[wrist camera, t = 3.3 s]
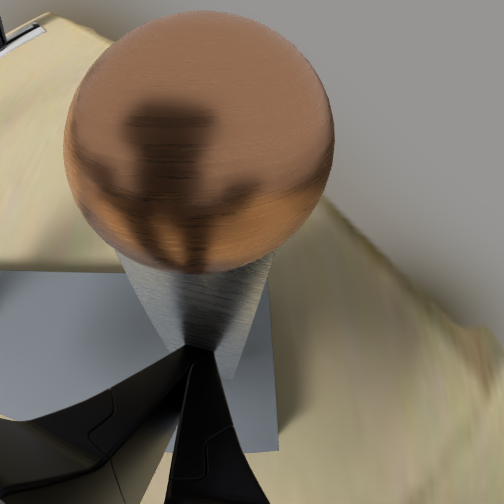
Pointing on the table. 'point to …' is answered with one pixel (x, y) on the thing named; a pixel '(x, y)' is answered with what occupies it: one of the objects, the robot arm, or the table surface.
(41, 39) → the table surface
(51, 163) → the table surface
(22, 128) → the table surface
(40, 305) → the switch board
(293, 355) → the table surface
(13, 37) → the slab on white base
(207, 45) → the copper knob rod
